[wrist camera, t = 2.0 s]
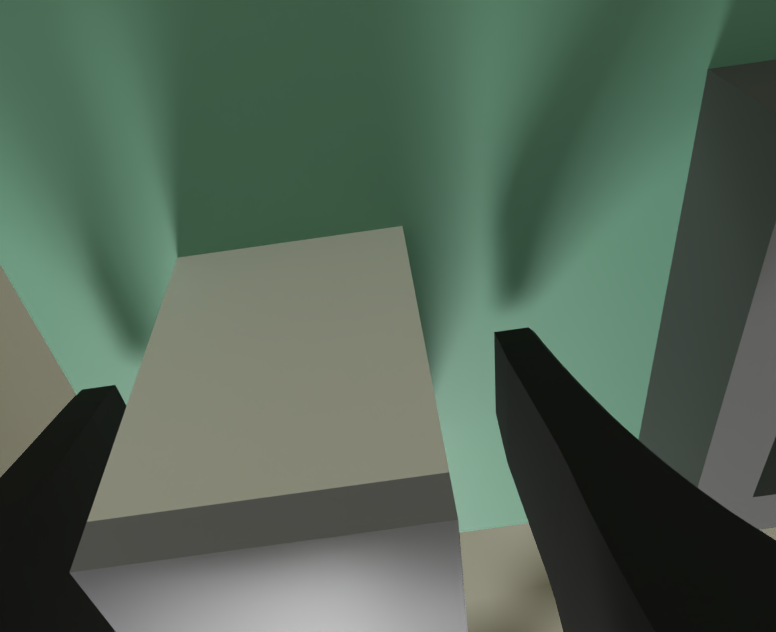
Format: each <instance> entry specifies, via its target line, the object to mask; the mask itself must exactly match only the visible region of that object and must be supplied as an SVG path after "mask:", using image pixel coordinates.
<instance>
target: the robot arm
mask: <svg viewBox="0 0 776 632" xmlns="http://www.w3.org/2000/svg"><path fill="white" fill-rule="evenodd" d="M494 349H495V403H496V416H497V420H498V425H499V429H500V433H501V438H502V442H503V446H504V450H505V455H506V459H507V463H508V466H509V469H510V471H511V474H512V477H513V480H514V483H515V486H516V488H517V491H518V494H519V497H520V500H521V503H522V505H523V508H524V511H525V514H526V516H527V519H528V522H529V525H530V528H531V530H532V533H533V536H534V539H535V541H536V544H537V547H538V550H539V553H540V555H541V558H542V561H543V564H544V566H545V569H546V572H547V575H548V578H549V581H550V584H551V588H552V591H553V594H554V597H555V600H556V604H557V608H558V612H559V616H560V620H561V624H562V628H563V632H776V540H774V539H772V538H771V537H769V536H768V535H766V534H765V533H763V532H762V531H760V530H759V529H757V528H755V527H754V526H752V525H751V524H749V523H748V522H746V521H745V520H743V519H741V518H740V517H738V516H737V515H735V514H734V513H732V512H731V511H729V510H728V509H726V508H725V507H724V506H722V505H721V504H719V503H718V502H717V501H715V500H714V499H713V498H711V497H710V496H708V495H707V494H706V493H704V492H703V491H701V490H700V489H699V488H697V487H696V486H695V485H693V484H692V483H691V482H689V481H688V480H687V479H686V478H684V477H683V476H682V475H680V474H679V473H678V472H677V471H675V470H674V469H673V468H671V467H670V466H669V465H668V464H666V463H665V462H664V461H663V460H662V459H660V458H659V457H658V456H657V455H656V454H654V453H653V452H652V451H651V450H650V449H648V448H647V447H646V446H645V445H644V444H643V443H642V442H640V441H639V440H638V439H637V438H636V437H635V436H634V435H633V434H631V433H630V432H629V431H628V430H627V429H626V428H625V427H624V426H623V425H621V424H620V423H619V422H618V421H617V420H616V419H615V418H614V417H613V416H612V415H611V414H610V413H609V412H608V411H607V410H606V409H605V408H604V407H603V406H602V405H601V404H600V403H599V402H598V401H597V400H596V399H595V398H594V397H593V396H592V395H591V394H590V393H589V392H588V391H587V390H586V389H585V388H584V387H583V386H582V385H581V384H580V383H579V382H578V381H577V380H576V379H575V378H574V377H573V376H572V375H571V374H570V372H569V371H568V370H567V369H566V368H565V367H564V366H563V365H562V364H561V363H560V361H559V360H558V359H557V358H556V357H555V356H554V355H553V353H552V352H551V351H550V350H549V349H548V348H547V346H546V345H545V344H544V343H543V342H542V340H541V339H540V338H539V337H538V336H537V334H536V333H535V332H534V331H533V330H531V329H530V328H529V327H527V328H520V329H513V330H505V331H498V332H494ZM125 409H126V404H125V402H124V400H123V398H122V396H121V395H120V393H119V391H118V389H117V387H116V385H111V386H104V387H96V388H89V389H82V390H81V391H80V392H79V393H78V394H77V395H76V396H75V397H74V398H73V399H72V400H71V401H70V402H69V403H68V404H67V405H66V406H65V408H64V409H63V410H62V411H61V412H60V413H59V414H58V415H57V416H56V417H55V418H54V420H53V421H52V422H51V423H50V424H49V425H48V426H47V427H46V428H45V429H44V431H43V432H42V433H41V434H40V435H39V436H38V437H37V438H36V439H35V441H34V442H33V443H32V444H31V445H30V446H29V447H28V448H27V449H26V450H25V452H24V453H23V454H22V455H21V456H20V457H19V458H18V459H17V460H16V461H15V462H14V463H13V465H12V466H11V467H10V468H9V469H8V470H7V471H6V472H5V473H4V474H3V475H2V477H1V478H0V632H116V631H115V630H114V629H113V628H112V626H111V625H110V624H109V622H108V621H107V620H106V619H105V617H104V616H103V615H102V614H101V612H100V611H99V610H98V608H97V607H96V606H95V605H94V603H93V602H92V601H91V600H90V598H89V597H88V596H87V594H86V593H85V592H84V591H83V589H82V588H81V587H80V586H79V584H78V583H77V582H76V580H75V579H74V578H73V577H72V575H71V574H70V573H69V572H70V569H71V566H72V564H73V561H74V558H75V555H76V552H77V549H78V546H79V543H80V540H81V537H82V534H83V532H84V529H85V526H86V523H87V520H88V517H89V514H90V511H91V508H92V505H93V502H94V499H95V497H96V494H97V491H98V488H99V485H100V482H101V479H102V476H103V473H104V470H105V467H106V465H107V462H108V459H109V456H110V453H111V450H112V447H113V444H114V441H115V438H116V435H117V433H118V430H119V427H120V424H121V421H122V418H123V415H124V412H125Z"/></svg>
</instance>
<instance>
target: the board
mask: <svg viewBox="0 0 776 632" xmlns="http://www.w3.org/2000/svg"><path fill="white" fill-rule="evenodd" d="M398 226H403V232H404V237H405V242H406V247H407V253H408V258H409V263H410V268H411V274H412V279H413V284H414V289H415V295H416V300H417V305H418V310H419V316H420V321H421V326H422V331H423V337H424V342H425V347H426V352H427V358H428V363H429V368H430V374H431V379H432V384H433V389H434V395H435V400H436V405H437V410H438V416H439V421H440V426H441V431H442V437H443V442H444V447H445V452H446V458H447V463H448V468H449V473H450V479H451V484H452V489H453V495H454V500H455V505H456V510H457V516H458V522H459V533H460V532H467V531H474V530H482V529H489V528H497V527H504V526H511V525H519V524H526V523H529V522H528V519H527V516H526V514H525V511H524V508H523V505H522V503H521V500H520V497H519V494H518V491H517V488H516V486H515V483H514V480H513V477H512V474H511V471H510V469H509V466H508V463H507V459H506V455H505V450H504V446H503V442H502V438H501V433H500V429H499V425H498V420H497V416H496V403H495V349H494V332H498V331H505V330H513V329H520V328H527V327H529V328H530V329H531V330H533V331H534V332H535V333H536V334H537V336H538V337H539V338H540V339H541V340H542V342H543V343H544V344H545V345H546V346H547V348H548V349H549V350H550V351H551V352H552V353H553V355H554V356H555V357H556V358H557V359H558V360H559V361H560V363H561V364H562V365H563V366H564V367H565V368H566V369H567V370H568V371H569V372H570V374H571V375H572V376H573V377H574V378H575V379H576V380H577V381H578V382H579V383H580V384H581V385H582V386H583V387H584V388H585V389H586V390H587V391H588V392H589V393H590V394H591V395H592V396H593V397H594V398H595V399H596V400H597V401H598V402H599V403H600V404H601V405H602V406H603V407H604V408H605V409H606V410H607V411H608V412H609V413H610V414H611V415H612V416H613V417H614V418H615V419H616V420H617V421H618V422H619V423H620V424H621V425H623V426H624V427H625V428H626V429H627V430H628V431H629V432H630V433H631V434H633V435H634V436H635V437H636V438H637V439H638V440H639V441H640V442H642V443H643V444H644V445H645V446H646V447H647V448H648V449H650V450H651V451H652V452H653V453H654V454H656V455H657V456H658V457H659V458H660V459H662V460H663V461H664V462H665V463H666V464H668V465H669V466H670V467H671V468H673V469H674V470H675V471H677V472H678V473H679V474H680V475H682V476H683V477H684V478H686V479H687V480H688V481H689V482H691V483H692V484H693V485H695V486H696V487H697V488H699V489H700V490H701V491H703V492H704V493H706V494H707V495H708V496H710V497H711V498H713V499H714V500H715V501H717V502H718V503H719V504H721V505H722V506H724V507H725V508H726V509H728V510H729V511H731V512H732V513H734V514H735V515H737V516H738V517H740V518H741V519H743V520H745V521H746V522H748V523H749V524H751V525H752V526H754V527H755V528H757V529H766V528H773V527H776V0H0V265H1V267H2V269H3V270H4V272H5V274H6V275H7V277H8V279H9V280H10V282H11V284H12V286H13V287H14V289H15V291H16V292H17V294H18V296H19V298H20V299H21V301H22V303H23V304H24V306H25V308H26V309H27V311H28V313H29V315H30V316H31V318H32V320H33V321H34V323H35V325H36V326H37V328H38V330H39V332H40V333H41V335H42V337H43V338H44V340H45V342H46V344H47V345H48V347H49V349H50V350H51V352H52V354H53V355H54V357H55V359H56V361H57V362H58V364H59V366H60V367H61V369H62V371H63V373H64V374H65V376H66V378H67V379H68V381H69V383H70V384H71V386H72V388H73V390H74V391H75V393H76V395H77V394H78V393H79V392H80V391H81V390H82V389H89V388H96V387H104V386H111V385H116V387H117V389H118V391H119V393H120V395H121V396H122V398H123V400H124V402H125V404H126V406H127V403H128V400H129V398H130V395H131V392H132V389H133V386H134V383H135V380H136V377H137V374H138V371H139V368H140V366H141V363H142V360H143V357H144V354H145V351H146V348H147V345H148V342H149V339H150V336H151V333H152V331H153V328H154V325H155V322H156V319H157V316H158V313H159V310H160V307H161V304H162V301H163V299H164V296H165V293H166V290H167V287H168V284H169V281H170V278H171V275H172V272H173V269H174V266H175V264H176V261H177V258H178V257H186V256H193V255H200V254H207V253H214V252H221V251H228V250H235V249H242V248H249V247H256V246H263V245H270V244H278V243H285V242H292V241H299V240H306V239H313V238H320V237H327V236H334V235H341V234H348V233H355V232H362V231H370V230H377V229H384V228H391V227H398Z"/></svg>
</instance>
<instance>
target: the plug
mask: <svg viewBox="0 0 776 632" xmlns="http://www.w3.org/2000/svg"><path fill="white" fill-rule="evenodd" d="M69 573H70V574H71V575H72V577H73V578H74V579H75V580H76V582H77V583H78V584H79V586H80V587H81V588H82V589H83V591H84V592H85V593H86V594H87V596H88V597H89V598H90V600H91V601H92V602H93V603H94V605H95V606H96V607H97V608H98V610H99V611H100V612H101V614H102V615H103V616H104V617H105V619H106V620H107V621H108V622H109V624H110V625H111V626H112V628H113V629H114V630H115V631H116V632H468V631H467V619H466V607H465V595H464V583H463V571H462V559H461V546H460V534H459V522H458V516H457V510H456V505H455V500H454V495H453V489H452V484H451V479H450V473H449V468H448V463H447V458H446V452H445V447H444V442H443V437H442V431H441V426H440V421H439V416H438V410H437V405H436V400H435V395H434V389H433V384H432V379H431V374H430V368H429V363H428V358H427V352H426V347H425V342H424V337H423V331H422V326H421V321H420V316H419V310H418V305H417V300H416V295H415V289H414V284H413V279H412V274H411V268H410V263H409V258H408V253H407V247H406V242H405V237H404V232H403V226H398V227H391V228H384V229H377V230H370V231H362V232H355V233H348V234H341V235H334V236H327V237H320V238H313V239H306V240H299V241H292V242H285V243H278V244H270V245H263V246H256V247H249V248H242V249H235V250H228V251H221V252H214V253H207V254H200V255H193V256H186V257H178V258H177V261H176V264H175V266H174V269H173V272H172V275H171V278H170V281H169V284H168V287H167V290H166V293H165V296H164V299H163V301H162V304H161V307H160V310H159V313H158V316H157V319H156V322H155V325H154V328H153V331H152V333H151V336H150V339H149V342H148V345H147V348H146V351H145V354H144V357H143V360H142V363H141V366H140V368H139V371H138V374H137V377H136V380H135V383H134V386H133V389H132V392H131V395H130V398H129V400H128V403H127V406H126V409H125V412H124V415H123V418H122V421H121V424H120V427H119V430H118V433H117V435H116V438H115V441H114V444H113V447H112V450H111V453H110V456H109V459H108V462H107V465H106V467H105V470H104V473H103V476H102V479H101V482H100V485H99V488H98V491H97V494H96V497H95V499H94V502H93V505H92V508H91V511H90V514H89V517H88V520H87V523H86V526H85V529H84V532H83V534H82V537H81V540H80V543H79V546H78V549H77V552H76V555H75V558H74V561H73V564H72V566H71V569H70V572H69Z"/></svg>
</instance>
